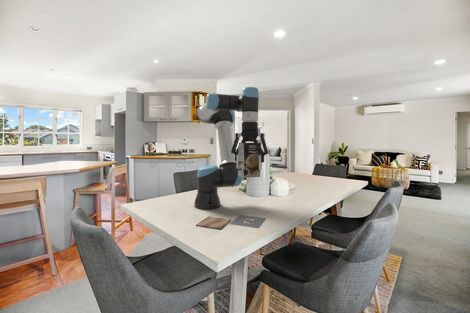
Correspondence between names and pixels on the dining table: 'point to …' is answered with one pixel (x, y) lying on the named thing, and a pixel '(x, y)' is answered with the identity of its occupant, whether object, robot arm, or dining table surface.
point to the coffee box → (248, 160)
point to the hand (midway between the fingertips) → (249, 168)
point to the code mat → (248, 221)
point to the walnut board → (213, 222)
